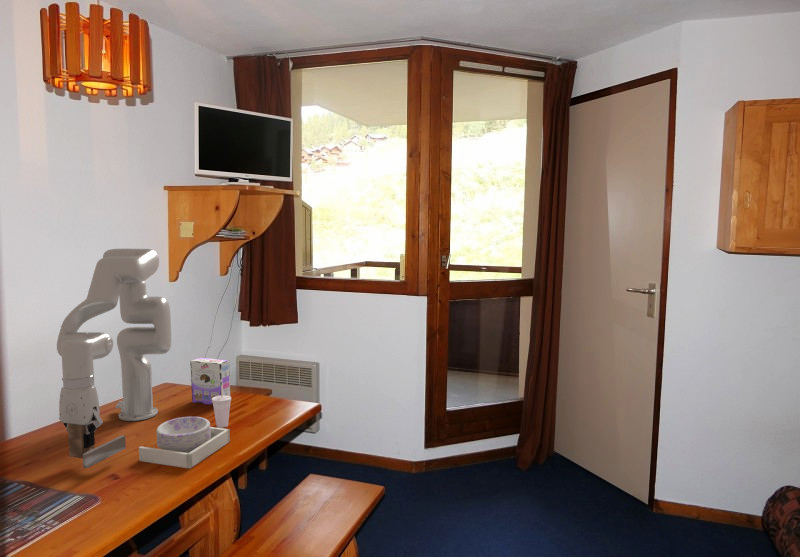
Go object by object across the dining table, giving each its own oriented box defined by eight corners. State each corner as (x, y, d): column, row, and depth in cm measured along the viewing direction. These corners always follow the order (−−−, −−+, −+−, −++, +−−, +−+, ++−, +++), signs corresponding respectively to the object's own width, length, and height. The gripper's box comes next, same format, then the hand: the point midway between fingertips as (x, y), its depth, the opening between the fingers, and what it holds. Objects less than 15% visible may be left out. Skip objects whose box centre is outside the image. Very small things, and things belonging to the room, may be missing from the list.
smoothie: (235, 422, 194) (234, 383, 192) (227, 429, 188) (226, 388, 186) (217, 421, 195) (216, 382, 193) (209, 428, 188) (207, 388, 187)
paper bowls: (160, 465, 161) (159, 438, 160) (154, 446, 174) (153, 421, 173) (215, 454, 168) (214, 428, 167) (206, 437, 181) (205, 413, 181)
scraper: (54, 463, 153) (52, 427, 152) (95, 443, 167) (93, 411, 166) (86, 468, 150) (84, 432, 149) (125, 448, 164) (124, 414, 163)
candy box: (231, 401, 216) (230, 359, 214) (221, 406, 210) (220, 363, 208) (201, 397, 220) (200, 356, 218) (191, 402, 215) (189, 360, 213)
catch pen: (139, 460, 163) (138, 447, 163) (183, 435, 182) (183, 423, 182) (189, 468, 159) (189, 454, 158) (229, 441, 178) (229, 429, 177)
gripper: (43, 383, 156) (46, 446, 158) (92, 388, 152) (95, 454, 153) (65, 376, 163) (69, 437, 165) (113, 381, 159) (116, 443, 161)
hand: (82, 444), depth 159 cm, fingers closed on scraper, 4 cm apart
